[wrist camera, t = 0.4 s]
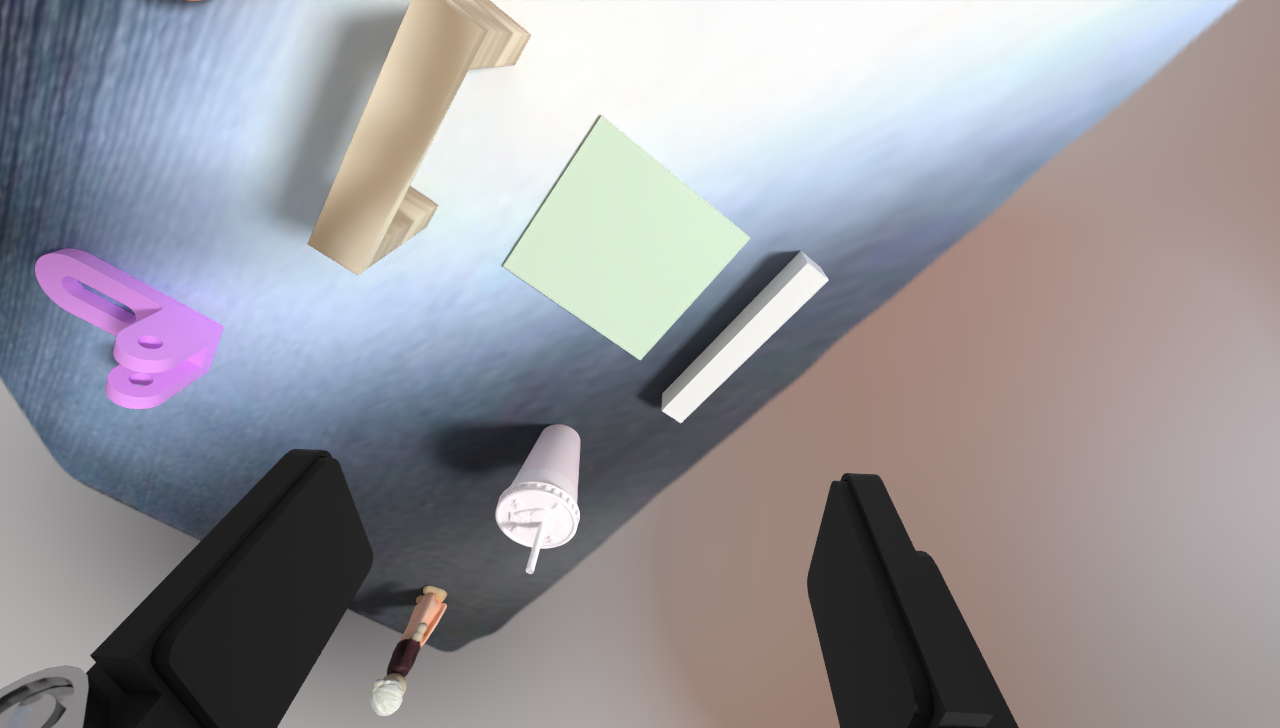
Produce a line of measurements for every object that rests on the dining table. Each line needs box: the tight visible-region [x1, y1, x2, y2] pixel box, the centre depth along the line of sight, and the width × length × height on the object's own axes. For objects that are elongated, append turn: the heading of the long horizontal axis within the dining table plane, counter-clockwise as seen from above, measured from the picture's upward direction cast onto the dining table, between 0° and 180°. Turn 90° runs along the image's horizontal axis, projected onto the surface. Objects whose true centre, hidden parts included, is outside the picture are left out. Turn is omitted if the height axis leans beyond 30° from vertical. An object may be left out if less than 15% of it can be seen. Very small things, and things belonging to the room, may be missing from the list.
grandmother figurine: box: [370, 585, 447, 716], centre depth 56 cm, size 8×4×13 cm, turn 155°
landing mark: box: [503, 116, 750, 360], centre depth 39 cm, size 13×13×1 cm
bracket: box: [35, 248, 224, 409], centre depth 41 cm, size 13×6×7 cm, turn 54°
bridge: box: [308, 0, 531, 275], centre depth 31 cm, size 3×15×10 cm, turn 143°
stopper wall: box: [662, 251, 828, 423], centre depth 41 cm, size 16×2×2 cm, turn 143°
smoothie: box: [496, 424, 580, 574], centre depth 42 cm, size 6×6×14 cm
